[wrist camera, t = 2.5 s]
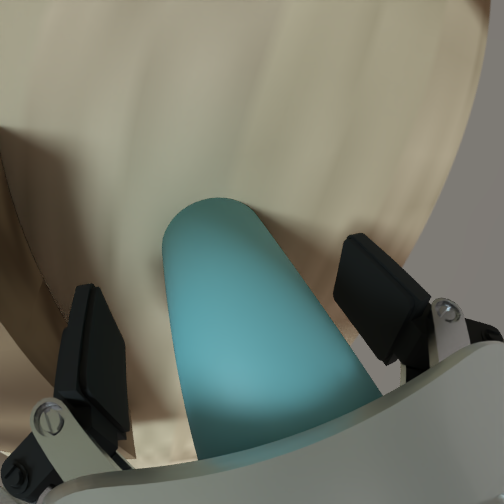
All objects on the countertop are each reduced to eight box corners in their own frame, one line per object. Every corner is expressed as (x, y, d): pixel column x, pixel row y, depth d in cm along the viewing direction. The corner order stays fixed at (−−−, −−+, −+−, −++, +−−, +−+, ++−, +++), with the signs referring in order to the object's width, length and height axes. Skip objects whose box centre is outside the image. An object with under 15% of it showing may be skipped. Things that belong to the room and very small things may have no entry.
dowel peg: (153, 207, 10) (185, 473, 3) (264, 191, 11) (425, 380, 4) (171, 295, 13) (218, 497, 6) (263, 277, 14) (358, 449, 7)
